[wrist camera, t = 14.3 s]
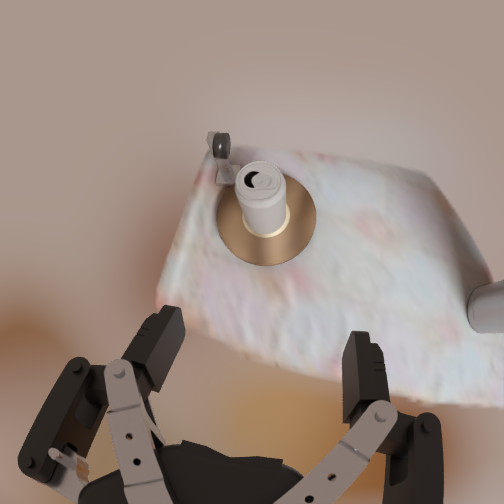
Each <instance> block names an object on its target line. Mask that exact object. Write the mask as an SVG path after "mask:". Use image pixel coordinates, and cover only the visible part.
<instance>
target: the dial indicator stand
mask: <svg viewBox="0 0 504 504" xmlns="http://www.w3.org/2000/svg"><path fill="white" fill-rule="evenodd" d="M207 142H208V145H209V147H210V149H211V152H212V154H213V156H214V158H215V161H216V163H217V165H218V168H219V169H218V173H217V178H216V182H215V183H216V185H217V186H232V185H233V184H234V183H235V181H236V177H237V175H238V173H239V171H240V170H241V165H231V163H230V161H229V158H228V157H229V154H230V136H229V134H228V133H219V132H209V133H208V137H207Z"/></svg>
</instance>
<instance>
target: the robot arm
mask: <svg viewBox="0 0 504 504" xmlns="http://www.w3.org/2000/svg"><path fill="white" fill-rule="evenodd" d="M468 319H469V323H470V325H471V327H472V328H473V330H474V331H476V332H477V333H504V280H501V281H498V282H494V283H491V284H487V285H483V286H480V287H478V288H476V289H475V290H474V291H473V293H472V295H471V297H470V299H469V303H468ZM184 337H185V326H184V321H183V317H182V312H181V309H180V308H179V307H175V306H170V305H164V306H163V307H162V309H161V310H160V312H159V313H158V314H156V313H153V314H152V315H151V316H149V317H148V318H147V319H146V320H145V321H144V323H143V324H142V326H141V328H140V329H139V331H138V332H137V335H136V336H135V337H134V338H133V340H132V342H131V343H130V345H129V347H128V348H127V350H126V351H125V353H124V355H123V356H122V357H121V359H116V360H114V361H111V362H110V363H109V364H108V365H106V366H104V365H90V363H89V362H88V360H86V359H85V358H83V357H76V358H73V359H71V360H70V361H69V362H68V363H67V365H66V367H65V368H64V370H63V371H62V373H61V375H60V376H59V378H58V380H57V381H56V383H55V385H54V386H53V388H52V390H51V392H50V394H49V395H48V397H47V399H46V401H45V402H44V404H43V406H42V408H41V410H40V412H39V414H38V415H37V417H36V419H35V421H34V423H33V425H32V427H31V429H30V431H29V433H28V435H27V437H26V440H25V442H24V444H23V446H22V448H21V450H20V453H19V455H18V465H19V468H20V469H21V471H22V472H23V473H24V474H25V475H27V476H29V477H30V478H33V479H34V480H36V481H37V482H39V483H41V484H43V485H46V486H48V487H50V488H52V489H53V490H55V491H56V492H58V493H60V494H61V495H63V496H64V497H66V498H67V499H69V500H71V501H73V502H74V503H76V504H333V503H334V502H335V501H336V500H337V499H338V498H339V497H340V496H341V495H342V494H343V493H344V492H345V490H346V489H347V488H348V487H349V486H350V485H351V484H352V483H353V482H354V481H355V479H356V478H357V477H358V476H359V474H360V473H361V472H362V471H363V470H364V469H365V467H366V466H367V465H368V463H369V461H370V458H371V456H372V455H373V454H374V453H375V452H379V453H383V454H386V468H385V483H384V493H383V502H382V504H443V496H444V464H443V446H442V433H441V424H440V421H439V419H438V418H437V417H436V416H435V415H434V414H432V413H422V414H420V415H419V416H418V417H414V416H410V415H406V414H403V413H400V412H398V411H397V410H396V408H395V407H394V406H393V404H391V402H390V398H389V390H388V382H387V375H386V372H385V370H386V369H385V364H384V356H383V352H382V350H381V349H380V347H379V346H378V344H377V343H370V337H369V333H368V332H365V331H352V332H351V334H350V337H349V339H348V342H347V344H346V347H345V349H344V352H343V357H342V382H343V423H350V430H349V432H348V433H347V434H346V435H345V436H344V437H343V438H342V440H341V441H340V442H339V443H338V444H337V445H336V446H335V447H334V448H333V449H332V450H331V451H330V452H329V453H328V455H327V456H326V457H325V458H324V459H323V460H322V461H321V462H320V463H319V464H318V465H317V466H316V467H315V468H313V469H312V470H311V471H310V472H309V473H308V474H307V475H306V476H305V477H303V476H302V474H300V473H299V472H298V471H296V470H295V469H293V468H291V467H289V466H287V465H284V464H282V462H283V459H274V458H267V457H260V456H253V457H228V456H225V455H223V454H221V453H219V452H217V451H214V450H213V449H211V448H209V447H207V446H204V445H200V444H196V443H192V442H189V441H185V440H182V443H181V444H176V445H167V444H166V442H165V439H164V437H163V435H162V434H161V431H160V429H159V427H158V424H157V421H156V417H155V415H154V412H153V408H152V405H151V402H150V399H149V394H150V392H151V390H152V391H155V392H158V393H159V391H160V389H161V387H162V385H163V383H164V381H165V379H166V376H167V374H168V372H169V370H170V368H171V366H172V364H173V361H174V359H175V357H176V355H177V353H178V351H179V349H180V347H181V345H182V342H183V340H184ZM108 406H110V411H109V412H107V420H108V425H109V429H110V434H111V438H112V442H113V446H114V450H115V454H116V458H117V461H118V465H119V468H120V469H118V470H116V471H114V472H111V473H109V474H107V475H105V476H103V477H101V478H99V479H96V480H94V481H92V482H90V483H89V481H88V475H89V473H90V472H89V467H88V463H87V461H86V460H85V459H86V456H87V454H88V452H89V449H90V447H91V444H92V442H93V440H94V437H95V435H96V433H97V430H98V428H99V426H100V424H101V421H102V419H103V417H104V415H105V412H106V410H107V408H108Z"/></svg>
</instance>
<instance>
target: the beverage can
mask: <svg viewBox="0 0 504 504" xmlns="http://www.w3.org/2000/svg"><path fill="white" fill-rule="evenodd" d="M235 193H236V196H237V199H238V201H239V204H240V206H241V209H242V212H243V214H244V217H245V220H246V222H247V224H248V226H249V227H250V228H251V229H252V230H253V231H255V232H257V233H260V234H270V233H273V232H275V231H277V230H278V229H280V228H281V227H282V225H283V224H284V222H285V219H286V181H285V178H284V176H283V174H282V173H281V172H280V170H279V169H278V168H277V167H276V166H275V165H274V164H272V163H269V162H266V161H254V162H251V163H249V164H247V165H245V166H244V167H243V168H242V169H241V170H240V171H239V173H238V175H237V177H236V181H235Z"/></svg>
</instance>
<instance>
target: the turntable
mask: <svg viewBox="0 0 504 504" xmlns="http://www.w3.org/2000/svg"><path fill="white" fill-rule="evenodd" d="M283 176H284V178H285V181H286V219H285V222H284V224H283V225H282V227H281V228H280V229H278V230H277V231H275V232H273V233H270V234H260V233H257V232H255V231H253V230H252V229H251V228H250V227H249V226H248V224H247V222H246V220H245V217H244V214H243V212H242V209H241V206H240V204H239V201H238V199H237V196H236V193H235V183H234V184H233V185H232V186H231V187H230V188H229V189H228V190H227V192H226V193H225V194H224V196H223V198H222V199H221V202H220V204H219V207H218V212H217V226H218V231H219V234H220V236H221V239H222V240H223V242H224V244H225V245H226V246H227V248H228V249H229V250H230V251H231V252H232V253H233V254H234V255H235V256H237V257H238V258H240V259H241V260H243V261H245V262H248V263H251V264H254V265H260V266H271V265H277V264H281V263H284V262H287V261H289V260H291V259H293V258H294V257H295V256H297V255H298V254H299V253H300V252H302V251H303V250H304V248H305V247H306V246H307V245H308V243H309V241H310V240H311V237H312V235H313V232H314V229H315V224H316V210H315V205H314V202H313V200H312V198H311V196H310V194H309V192H308V191H307V190H306V189H305V187H304V186H303V185H301V184H300V183H299V182H298V181H296V180H295V179H293V178H291V177H289V176H287V175H284V174H283Z"/></svg>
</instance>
